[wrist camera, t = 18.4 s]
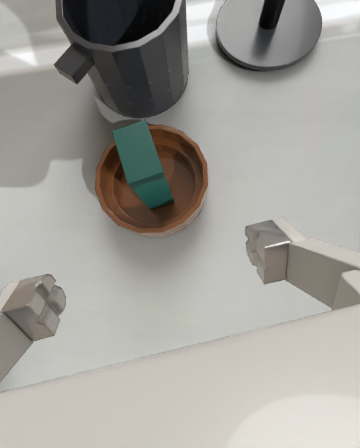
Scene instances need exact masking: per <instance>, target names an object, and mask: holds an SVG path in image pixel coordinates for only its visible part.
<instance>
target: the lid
mask: <svg viewBox="0 0 360 448" xmlns="http://www.w3.org/2000/svg"><path fill="white" fill-rule="evenodd" d="M321 29H322V17H321V13H320V10H319V8H318V6H317V4H316V2H315V1H314V0H226V1H225V2H224V4H223V5H222V7H221V9H220V11H219V13H218V16H217V21H216V35H217V40H218V43H219V45H220V47H221V48H222V50H223V51H224V53H225V54H226V55H227V56H228V57H229V58H230V59H232V60H233V61H234V62H236V63H238V64H239V65H242V66H244V67H247V68H250V69H254V70H261V71H273V70H279V69H283V68H287V67H289V66H292V65H294V64H296V63H298V62H299V61H301V60H302V59H303V58H305V57H306V56H307V55H308V54H309V53H310V52H311V50H312V49H313V48H314V46H315V44H316V43H317V41H318V39H319V36H320V33H321Z"/></svg>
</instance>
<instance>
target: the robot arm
mask: <svg viewBox="0 0 360 448" xmlns="http://www.w3.org/2000/svg"><path fill="white" fill-rule="evenodd" d="M245 235H246V236H247V238H248V240H247V242H246V251H247V255H248V257H249V260H250V262H251V263H252V265H254V266H256V267H257V273H258V275H259V276H260V278H261V280H262V281H263V283H264V284H268V283H273V282H277V281H282V280H286V281H287V282H289V283H291V284H292V285H294V286H296V287H297V288H299V289H301V290H302V291H304V292H306V293H307V294H309V295H311V296H312V297H314V298H316V299H317V300H319V301H321V302H322V303H324V304H326V305H327V306H329V307H331V308H332V311H329V312H325V313H321V314H317V315H313V316H308V317H304V318H300V319H296V320H292V321H288V322H284V323H280V324H276V325H272V326H268V327H264V328H260V329H256V330H252V331H248V332H243V333H239V334H235V335H231V336H227V337H223V338H219V339H215V340H211V341H207V342H203V343H199V344H195V345H191V346H187V347H183V348H179V349H175V350H171V351H167V352H163V353H158V354H154V355H150V356H146V357H142V358H138V359H134V360H130V361H126V362H122V363H118V364H114V365H110V366H106V367H101V368H97V369H93V370H89V371H85V372H81V373H77V374H73V375H69V376H65V377H61V378H57V379H53V380H49V381H45V382H40V383H36V384H32V385H28V386H24V387H20V388H16V389H12V390H8V391H4V392H0V448H360V252H357V251H354V250H351V249H347V248H344V247H341V246H337V245H334V244H331V243H328V242H324V241H321V240H318V239H314V238H306V237H305V236H304V235H303V234H302V233H301V232H300V231H299V230H297V229H296V228H295V227H294V226H293V225H292V224H291V223H290V222H289V221H288V220H287V219H285V218H284V217H278V218H275V219H271V220H269V221H265V222H261V223H257V224H253V225H249V226H246V228H245ZM55 282H56V280H55V279H54V277H53V276H52V275H50V274H45V275H41V276H36V277H31V278H27V279H23V280H18V281H14V282H11V283H9V284H7V286H6V287H5V288H4V290H3V291H2V293H1V294H0V382H1V381H2V380H3V378H4V377H5V376H6V375H7V373H8V372H9V371H10V370H11V369H12V367H13V366H14V365H15V364H16V363H17V361H18V360H19V359H20V358H21V356H22V355H23V354H24V353H25V352H26V350H27V349H28V348H29V347H30V346H31V344H32V343H33V341H36V340H40V339H44V338H47V337H51V336H54V335H55V333H56V330H57V327H58V325H59V322H60V319H59V317H58V316H59V315H60V314H61V313H62V312H63V311H64V308H65V305H66V296H65V293H64V291H63V290H62V288H60V287H58V286H56V285H55Z"/></svg>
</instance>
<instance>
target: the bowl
mask: <svg viewBox="0 0 360 448" xmlns="http://www.w3.org/2000/svg"><path fill="white" fill-rule="evenodd" d="M148 128H149V131H150V134H151V136H152V139H153V142H154V145H155V147H156V150H157V153H158V156H159V159H160V161H161V164H162V167H163V170H164V173H165V176H166V179H167V182H168V185H169V188H170V190H171V193H172V196H173V199H174V203H171V204H168V205H165V206H162V207H159V208H156V209H153V210H150V209H149V208H148V206H147V205H146V204H145V203H144V202H143V201H142V200H141V199H140V197H139V196H138V195H137V194H136V193H135V192H134V191H133V189H132V188H131V187H130V186H129V185H128V183H127V180H126V177H125V173H124V170H123V167H122V163H121V160H120V157H119V154H118V150H117V147H116V144H115V141H114V142H113V143H111V144H110V145H109V146H108V147H107V148H106V150H105V151H104V153H103V155H102V157H101V160H100V162H99V164H98V166H97V168H96V184H95V191H96V193H97V196H98V199H99V201H100V204H101V207H102V209H103V211H104V212H105V213H106V214H107V215H108V216H109V217H110V218H111V219H112V220H113V221H114V222H115V223H116V224H117V225H119V226H121V227H123V228H125V229H127V230H130V231H132V232H135V233H137V234H140V235H142V236H145V237H166V236H169V235H171V234H173V233H176V232H178V231H180V230H182V229H185V228H186V227H187V226H188V225H189V224H190V223H191V222H192V221H193V220H194V219H195V218H196V217H197V216H198V214H199V213H200V211H201V208H202V206H203V203H204V200H205V198H206V195H207V188H208V173H207V162H206V160H205V158H204V156H203V154H202V152H201V150H200V148H199V146H198V145H197V144H196V143H195V142H194V141H193V140H192V139H191V138H189V137H188V136H187V135H186V134H185V133H183V132H182V131H180V130H177V129H174V128H171V127H167V126H164V125H148Z"/></svg>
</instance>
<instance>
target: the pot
mask: <svg viewBox="0 0 360 448" xmlns="http://www.w3.org/2000/svg"><path fill="white" fill-rule="evenodd" d="M56 18H57V21H58V23H59V25H60V26H61V28H62V30H63V31H64V33H65V35H66V37H67V38H68V40H69V42H70V44H71V46H70V47H69V48H68V49H67V50H66V51H65V53H64V54H63V55H62V56H61V57H60V58H59V59H58V61H57V62H56V63H55V64H54V66H55V67H56V69H57V70H58V71H59V73H60V74H62V75H63V76H65V77H66V78H68V79H69V80H71V81H72V82H74V83H76V84H78V83H79V82H80V81H81V79H82V78H83V77H84V76H85V75H86V74H87V73H88V75H89V76H90V78H91V80H92V82H93V83H94V85H95V87H96V89H97V90H98V92H99V94H100V95H101V97H102V99H103V100H104V102H105V103H106V104H107V105H108V106H109V107H110V108H111V109H112V110H113V111H115V112H117V113H119V114H121V115H123V116H127V117H132V118H146V117H151V116H155V115H157V114H160V113H162V112H164V111H166V110H167V109H169V108H170V107H171V106H173V105H174V104H175V103H176V102H177V101H178V99H179V98H180V97H181V95H182V94H183V92H184V90H185V87H186V84H187V80H188V74H189V68H188V46H187V24H186V1H185V0H56Z"/></svg>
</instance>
